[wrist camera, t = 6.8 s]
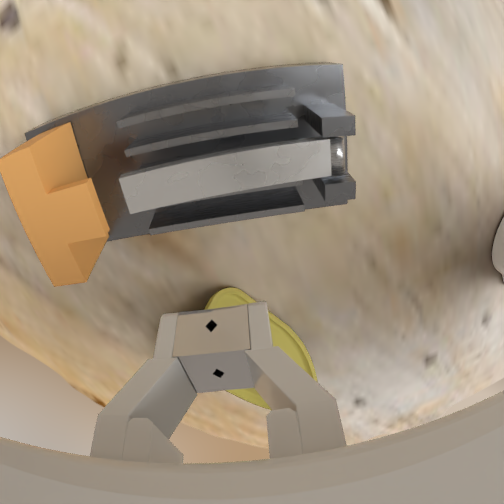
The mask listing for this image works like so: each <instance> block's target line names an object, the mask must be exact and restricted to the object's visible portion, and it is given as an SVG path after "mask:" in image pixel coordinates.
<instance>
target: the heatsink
mask: <svg viewBox="0 0 504 504" xmlns="http://www.w3.org/2000/svg"><path fill="white" fill-rule="evenodd" d="M68 122H71V126H72V129H73V133H74V136H75V140H76V143H77V146H78V150H79V153H80V156H81V159H82V162H83V165H84V169H85V172H86V175H87V178H91V179H92V182H93V185H94V188H95V190H96V193H97V196H98V199H99V202H100V204H101V207H102V210H103V213H104V215H105V218H106V221H107V223H108V226H109V228H110V230H109V232H108V234H109V238H108V239H107V241H112V240H117V239H122V238H128V237H133V236H139V235H145V234H150V235H155V234H160V233H166V232H172V231H178V230H184V229H190V228H196V227H202V226H209V225H215V224H221V223H228V222H234V221H240V220H247V219H254V218H260V217H267V216H274V215H281V214H288V213H295V212H303V211H305V210H304V209H312V208H319V207H327V206H334V205H342V204H347V200H349V199H355V194H356V181H355V180H354V179H353V178H352V177H351V176H350V174H349V173H348V172H347V136H350V135H355V115H353V114H351V113H350V112H348V111H346V106H345V89H344V75H343V64H337V63H307V64H292V65H280V66H270V67H260V68H252V69H244V70H237V71H230V72H224V73H218V74H212V75H207V76H201V77H196V78H191V79H186V80H181V81H177V82H172V83H168V84H164V85H159V86H155V87H151V88H148V89H144V90H140V91H136V92H133V93H129V94H126V95H122V96H119V97H116V98H112V99H109V100H106V101H103V102H100V103H97V104H94V105H91V106H88V107H85V108H82V109H79V110H77V111H74V112H71V113H69V114H66V115H63V116H61V117H58V118H56V119H53V120H51V121H48V122H46V123H43V124H41V125H39V126H38V127H36V128H34V129H32V130H30V131H28V132H27V133H25V136H26V139H27V141H28V140H30V139H32V138H33V137H35V136H37V135H38V134H40V133H43V132H45V131H48V130H50V129H53V128H55V127H58V126H60V125H63V124H66V123H68ZM319 136H322V137H323V138H325V137H337V136H344V144H345V174H344V175H342V176H327V177H320V178H314V179H307V180H301V181H295V182H288V183H282V184H276V185H271V186H265V187H259V188H253V189H248V190H243V191H237V192H232V193H227V194H221V195H216V196H211V197H206V198H201V199H196V200H192V201H187V202H182V203H178V204H173V205H168V206H164V207H159V208H155V209H150V210H146V211H142V212H137V213H133V214H130V212H129V209H128V206H127V203H126V200H125V197H124V194H123V191H122V188H121V185H120V182H119V177H120V176H121V174H124V173H127V172H131V171H135V170H139V169H143V168H147V167H151V166H155V165H159V164H164V163H168V162H172V161H177V160H181V159H186V158H190V157H195V156H200V155H205V154H210V153H215V152H220V151H226V150H231V149H237V148H242V147H248V146H254V145H261V144H267V143H273V142H280V141H287V140H295V139H302V138H310V137H319Z"/></svg>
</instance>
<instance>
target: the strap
mask: <svg viewBox="0 0 504 504" xmlns="http://www.w3.org/2000/svg"><path fill="white" fill-rule="evenodd" d="M344 174H345V144H344V136H337V137H325V138H323V137H322V136H319V137H310V138H302V139H295V140H287V141H280V142H273V143H267V144H261V145H254V146H248V147H242V148H237V149H231V150H226V151H220V152H215V153H210V154H205V155H200V156H195V157H190V158H186V159H181V160H177V161H172V162H168V163H164V164H159V165H155V166H151V167H147V168H143V169H139V170H135V171H131V172H127V173H124V174H121V176H120V177H119V182H120V185H121V188H122V191H123V194H124V197H125V200H126V203H127V206H128V209H129V212H130V214H133V213H137V212H142V211H146V210H150V209H155V208H159V207H164V206H168V205H173V204H178V203H182V202H187V201H192V200H196V199H201V198H206V197H211V196H216V195H221V194H227V193H232V192H237V191H243V190H248V189H253V188H259V187H265V186H271V185H276V184H282V183H288V182H295V181H301V180H307V179H314V178H320V177H327V176H342V175H344Z"/></svg>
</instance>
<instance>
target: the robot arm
mask: <svg viewBox="0 0 504 504" xmlns="http://www.w3.org/2000/svg"><path fill="white" fill-rule="evenodd" d="M492 261H493V265H494V267H495V269H496V270H497V271H499V272H500V273H501V274H502V276H503V282H504V217H503V219H502V221H501V223H500V226H499V228H498V230H497V233H496V236H495V239H494V243H493V249H492ZM246 388H255V390H256V391H257V392H258V393H259V395H260V396H261V397H262V398H263V399H264V401H265V402H266V403H267V404H268V405H269V407H270V408H271V409H272V411H270V413H269V414H268V415H267V428H268V441H269V453H270V459H264V460H252V461H241V462H224V463H183V454H182V453H181V452H180V451H179V450H178V449H177V448H176V447H175V446H174V445H173V444H172V443H171V442H170V441H169V438H170V437H171V435H172V434H173V432H174V430H175V429H176V427H177V426H178V424H179V423H180V421H181V420H182V418H183V416H184V415H185V413H186V412H187V410H188V409H189V407H190V405H191V404H192V402H193V401H194V399H195V398H196V396H197V393H203V392H213V391H222V390H234V389H246ZM0 504H504V391H502V392H500V393H498V394H496V395H494V396H492V397H489V398H487V399H485V400H483V401H481V402H479V403H476V404H474V405H472V406H470V407H467V408H465V409H462V410H460V411H457V412H455V413H452V414H450V415H447V416H445V417H442V418H439V419H437V420H434V421H431V422H428V423H426V424H423V425H420V426H417V427H414V428H411V429H408V430H404V431H401V432H398V433H395V434H391V435H388V436H384V437H381V438H377V439H373V440H369V441H365V442H361V443H357V444H353V445H348V446H347V445H346V441H345V436H344V432H343V428H342V423H341V419H340V415H339V410H338V406H337V402H336V399H335V398H334V397H333V396H332V395H331V394H330V393H329V392H327V391H326V390H325V389H324V388H323V387H322V386H321V385H320V384H319V383H317V382H316V381H315V380H314V379H313V378H312V377H311V376H310V375H309V374H308V373H307V372H305V371H304V370H303V369H302V368H301V367H300V366H299V365H298V364H297V363H296V362H295V361H294V360H292V359H291V358H290V357H289V356H288V355H287V354H286V353H285V352H284V351H283V350H282V349H281V348H280V347H279V346H274V347H273V341H272V334H271V328H270V321H269V314H268V308H267V302H266V301H262V302H255V303H249V304H243V305H236V306H229V307H221V308H214V309H207V310H197V311H186V312H179V313H167V314H163V315H162V316H161V318H160V323H159V328H158V333H157V339H156V344H155V350H154V355H153V359H148V360H147V361H146V362H145V363H144V364H143V366H142V367H141V368H140V369H139V370H138V371H137V372H136V373H135V374H134V375H133V377H132V378H131V379H130V380H129V381H128V382H127V383H126V384H125V385H124V387H123V388H122V389H121V390H120V391H119V392H118V393H117V394H116V395H115V396H114V398H113V399H112V400H111V401H110V402H109V403H108V404H107V405H106V406H105V408H104V409H103V410H102V411H101V412H100V413H99V414H98V418H97V422H96V427H95V431H94V437H93V442H92V447H91V453H90V456H83V455H77V454H71V453H66V452H60V451H55V450H50V449H45V448H41V447H37V446H32V445H28V444H24V443H20V442H17V441H13V440H10V439H6V438H2V437H0Z"/></svg>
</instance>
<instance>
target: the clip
mask: <svg viewBox="0 0 504 504" xmlns="http://www.w3.org/2000/svg"><path fill="white" fill-rule="evenodd" d="M0 172H1V175H2V178H3V180H4V183H5V186H6V188H7V191H8V193H9V196H10V198H11V200H12V203H13V205H14V207H15V210H16V212H17V214H18V217H19V219H20V221H21V223H22V225H23V228H24V230H25V232H26V234H27V236H28V238H29V240H30V242H31V244H32V246H33V248H34V250H35V252H36V254H37V256H38V258H39V260H40V262H41V264H42V266H43V267H44V269H45V271H46V273H47V275H48V277H49V278H50V280H51V282H52V284H53V285H54V287H56V286H63V285H70V284H77V283H84V282H87V280H88V278H89V276H90V273H91V271H92V269H93V267H94V265H95V263H96V261H97V259H98V257H99V255H100V253H101V251H102V249H103V247H104V245H105V243H106V241H107V239H108V238H109V234H108V232H109V230H110V228H109V226H108V223H107V221H106V218H105V215H104V213H103V210H102V207H101V204H100V202H99V199H98V196H97V193H96V190H95V188H94V185H93V182H92V179H91V178H87V175H86V172H85V169H84V165H83V162H82V159H81V156H80V153H79V150H78V146H77V143H76V140H75V136H74V133H73V129H72V126H71V122H68V123H66V124H63V125H60V126H58V127H55V128H53V129H50V130H48V131H45V132H43V133H40V134H38V135H37V136H35V137H33V138H32V139H30V140H28V141H27V142H25V143H23V144H22V145H20V146H19V147H17V148H15V149H14V150H12V151H11V152H9V153H8V154H6V155H5V156H3V157H2V158H0Z"/></svg>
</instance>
